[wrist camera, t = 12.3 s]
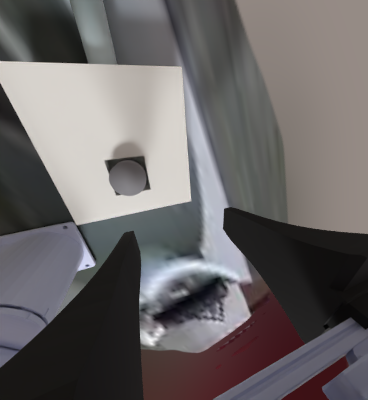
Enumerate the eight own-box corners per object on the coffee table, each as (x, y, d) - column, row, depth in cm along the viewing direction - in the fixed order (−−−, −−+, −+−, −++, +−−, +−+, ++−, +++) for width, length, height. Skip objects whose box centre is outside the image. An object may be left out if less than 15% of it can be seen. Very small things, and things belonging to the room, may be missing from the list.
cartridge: (135, 128, 15) (133, 123, 11) (108, 130, 14) (94, 125, 10) (82, -115, 9) (29, -352, 4) (31, -130, 8) (-88, -424, 4)
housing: (180, 188, 20) (191, 200, 16) (91, 205, 17) (76, 225, 13) (170, 86, 14) (181, 66, 11) (39, 87, 12) (-12, 61, 8)
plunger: (118, 190, 14) (115, 198, 12) (109, 161, 12) (103, 164, 10) (148, 185, 14) (149, 192, 12) (142, 157, 13) (142, 159, 11)
